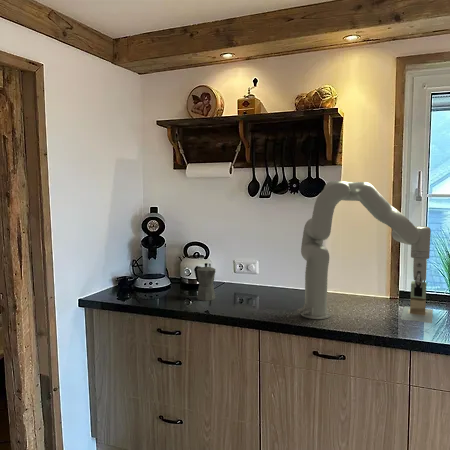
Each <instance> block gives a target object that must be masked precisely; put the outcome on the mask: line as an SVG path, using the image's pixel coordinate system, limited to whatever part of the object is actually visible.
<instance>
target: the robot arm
mask: <svg viewBox="0 0 450 450" xmlns="http://www.w3.org/2000/svg"><path fill="white" fill-rule="evenodd" d="M341 201H347V202H348V201H349V202H353V201H354V202H359V203H361V204H362V206H363V207H364V208H365V209H366V210H367V212H369V213H370V214H371V215H372V217H373V218H375V219H376V220H377V221H378V222H381V223H382V224H384V225H386V226H387V227H389V228H390V229H392V231H391V237H392V238H393V240H394V241H396V242H398V243H400V244H401V243H402V244H405V245H409V246H410V258H412V259H413V264H412V265H413V266H412V267H413V268H412V269H413V270H412V271H413V274H412V275H413V281H415V287H414V296H417V297H422V282H427V281H426V280H427V270H428V269H427V268H428V267H427V266H428V264H427V263H428V259H430V252H431V250H430V249H431V233H432V232H431V228H430V227H429V226H424V225H416V226H415V225H414V224H413V222H411V221H410V219H409V218H408V217H407V216H405V215H404V214H402V212H400V210H398V209H397V208H395V207H394V206H393V205H392V204H391V203H389V202H388V200H387V199H386V198H385V197H384V196H383V195H382V193H380V192H379V191H378V189H376V187H375V186H374V185H373V184H371V183H370V182H367V181H344V180H332V181H331V180H330V181H328V182H326V184H325V185H324V187H323V189H322V191H321V192H320V193H319V194H318V196H317V197H316V200H315V201H314V206H313V211H312V217H311V218H309V219H308V220H307V221H306V222H305V225H304V227H303V232H302V239H301V240H302V241H301V248H300V253H301V256H302V258H303V259H304V260H305V262H306V264H305V271H304V273H305V274H304V304H303V305H302V307H301V308H297V309H296V313H297V314H300V315H301V316H302V317H303V318H306V319H311V320H325V319H326V320H327V319H329V318H330V317H331V312H330V311H328V309H327V307H328V276H329V275H328V272H329V264H330V252H329V250H328V248H327V247H326V246H325V245H324V241H325V240H328V239H329V237H330V235H331V232H332V231H331V230H332V223H333V217H334V214H335V213H334V212H335V208H336V206H338V205H337V204H338V203H340V202H341ZM420 282H421V283H420ZM420 285H421V286H420Z"/></svg>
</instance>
